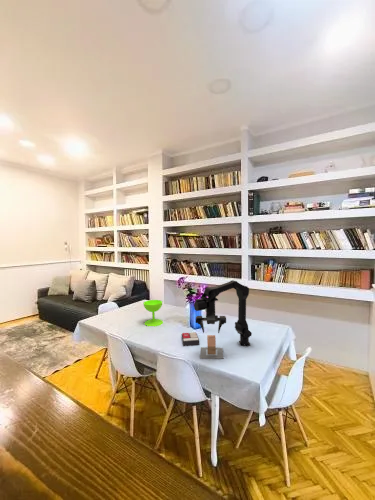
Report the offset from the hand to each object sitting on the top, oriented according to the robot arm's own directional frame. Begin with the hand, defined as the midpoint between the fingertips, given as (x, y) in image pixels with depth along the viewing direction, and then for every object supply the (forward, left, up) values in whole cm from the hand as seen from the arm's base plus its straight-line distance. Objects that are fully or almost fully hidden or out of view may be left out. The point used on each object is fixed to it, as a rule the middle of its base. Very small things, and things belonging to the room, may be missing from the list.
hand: (211, 332), depth 155 cm
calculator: (-17, -15, -14) cm, 27 cm away
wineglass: (-52, -49, -13) cm, 73 cm away
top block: (0, 0, -8) cm, 8 cm away
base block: (0, 0, -12) cm, 13 cm away
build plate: (0, 0, -13) cm, 13 cm away
